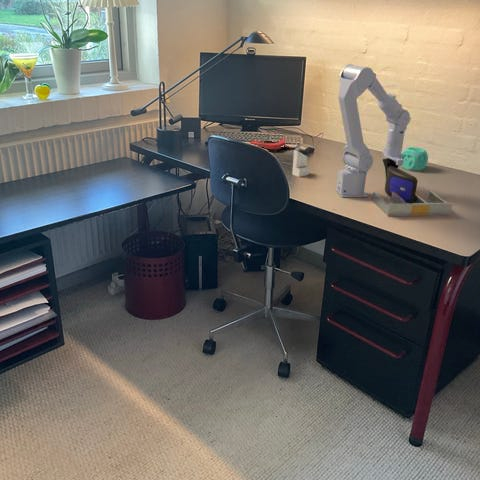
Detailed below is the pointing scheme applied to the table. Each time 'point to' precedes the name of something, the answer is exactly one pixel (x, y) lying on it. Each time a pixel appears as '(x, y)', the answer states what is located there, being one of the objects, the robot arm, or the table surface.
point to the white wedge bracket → (300, 164)
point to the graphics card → (270, 144)
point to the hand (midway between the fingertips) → (389, 178)
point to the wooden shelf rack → (413, 205)
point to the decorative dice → (414, 158)
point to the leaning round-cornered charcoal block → (401, 184)
